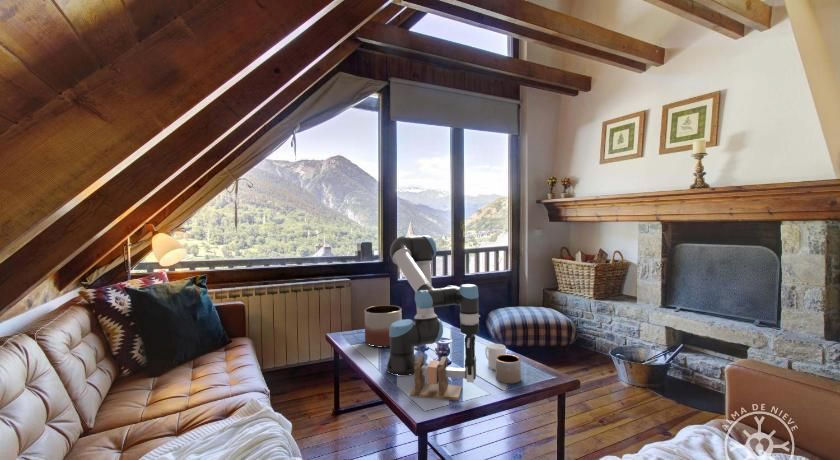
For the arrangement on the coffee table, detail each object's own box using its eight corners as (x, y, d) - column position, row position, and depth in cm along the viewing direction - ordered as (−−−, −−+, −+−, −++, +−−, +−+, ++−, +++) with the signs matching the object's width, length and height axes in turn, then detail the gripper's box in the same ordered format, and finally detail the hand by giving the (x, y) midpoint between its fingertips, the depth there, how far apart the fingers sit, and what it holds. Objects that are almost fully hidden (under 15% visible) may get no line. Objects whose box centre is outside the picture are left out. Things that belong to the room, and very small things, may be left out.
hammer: (417, 375, 165) (417, 356, 164) (419, 371, 168) (419, 353, 168) (475, 379, 159) (474, 360, 159) (476, 375, 163) (475, 356, 162)
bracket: (409, 396, 162) (409, 363, 162) (416, 385, 173) (415, 354, 172) (458, 400, 157) (457, 366, 157) (462, 388, 168) (461, 357, 167)
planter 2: (493, 375, 181) (492, 354, 181) (516, 374, 182) (515, 353, 182) (500, 385, 170) (499, 363, 170) (524, 383, 171) (524, 362, 171)
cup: (497, 371, 185) (496, 350, 185) (479, 364, 195) (479, 344, 195) (509, 367, 190) (509, 346, 190) (492, 360, 200) (491, 340, 200)
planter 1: (401, 348, 223) (400, 313, 222) (362, 349, 223) (361, 313, 222) (403, 336, 245) (402, 304, 244) (368, 337, 245) (367, 305, 244)
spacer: (427, 383, 162) (426, 366, 162) (431, 376, 169) (430, 360, 169) (436, 384, 161) (436, 367, 161) (440, 377, 168) (439, 361, 168)
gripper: (476, 329, 151) (478, 389, 152) (480, 317, 168) (481, 372, 169) (457, 328, 153) (458, 387, 154) (463, 317, 170) (464, 370, 170)
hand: (470, 379), depth 161 cm, fingers closed on hammer, 4 cm apart
